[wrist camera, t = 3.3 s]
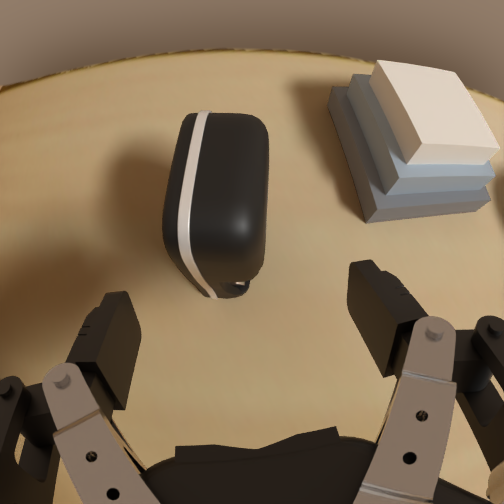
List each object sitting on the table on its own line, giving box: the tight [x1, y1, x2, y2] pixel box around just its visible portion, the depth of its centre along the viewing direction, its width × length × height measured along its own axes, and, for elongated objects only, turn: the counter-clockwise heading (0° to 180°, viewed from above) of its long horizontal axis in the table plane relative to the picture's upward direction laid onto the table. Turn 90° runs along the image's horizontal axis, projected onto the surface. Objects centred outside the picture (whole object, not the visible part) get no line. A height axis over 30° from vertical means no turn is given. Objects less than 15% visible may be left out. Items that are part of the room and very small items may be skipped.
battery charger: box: [162, 110, 269, 299], centre depth 17 cm, size 7×4×11 cm, turn 176°
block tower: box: [327, 60, 500, 223], centre depth 21 cm, size 12×12×8 cm
